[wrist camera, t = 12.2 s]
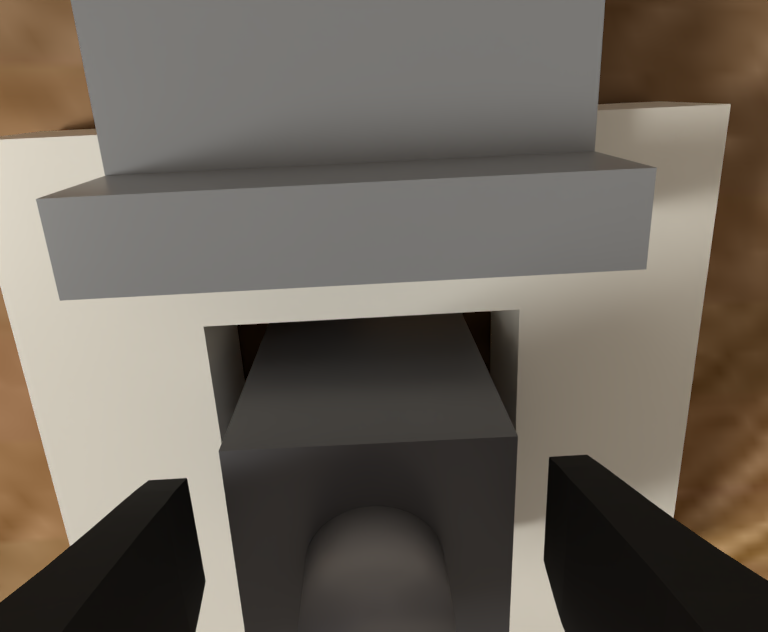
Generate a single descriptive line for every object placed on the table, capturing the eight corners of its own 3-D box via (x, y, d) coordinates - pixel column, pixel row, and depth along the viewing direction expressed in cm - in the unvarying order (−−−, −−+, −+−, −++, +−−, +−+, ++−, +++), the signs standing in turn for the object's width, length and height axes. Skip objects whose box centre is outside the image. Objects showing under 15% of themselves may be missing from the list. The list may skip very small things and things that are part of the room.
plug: (456, 461, 15) (527, 734, 9) (288, 470, 15) (236, 752, 8) (457, 304, 14) (542, 490, 7) (272, 311, 13) (196, 507, 7)
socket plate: (613, 555, 16) (657, 636, 14) (142, 584, 16) (104, 671, 13) (659, 101, 12) (730, 104, 10) (40, 131, 12) (-40, 141, 10)
